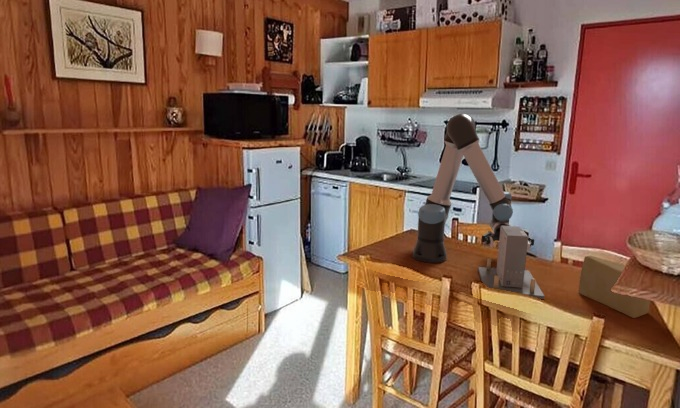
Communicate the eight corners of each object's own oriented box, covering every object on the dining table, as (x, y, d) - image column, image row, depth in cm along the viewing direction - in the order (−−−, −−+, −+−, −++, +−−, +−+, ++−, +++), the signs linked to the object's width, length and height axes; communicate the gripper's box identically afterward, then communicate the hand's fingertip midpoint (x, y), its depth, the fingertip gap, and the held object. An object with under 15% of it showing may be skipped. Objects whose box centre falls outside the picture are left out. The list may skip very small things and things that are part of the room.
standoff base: (485, 294, 165) (487, 278, 164) (478, 270, 190) (479, 255, 189) (544, 299, 162) (546, 282, 160) (528, 273, 187) (530, 258, 185)
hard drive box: (523, 288, 168) (528, 236, 163) (501, 287, 169) (506, 235, 165) (515, 273, 182) (520, 225, 178) (495, 272, 184) (499, 224, 180)
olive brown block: (570, 295, 166) (575, 256, 163) (586, 290, 171) (592, 252, 168) (633, 319, 148) (640, 276, 144) (649, 313, 152) (656, 271, 149)
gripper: (532, 241, 195) (543, 257, 175) (472, 238, 200) (476, 252, 180) (534, 225, 194) (545, 239, 173) (473, 221, 199) (478, 234, 178)
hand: (510, 246), depth 177 cm, fingers open, 13 cm apart
